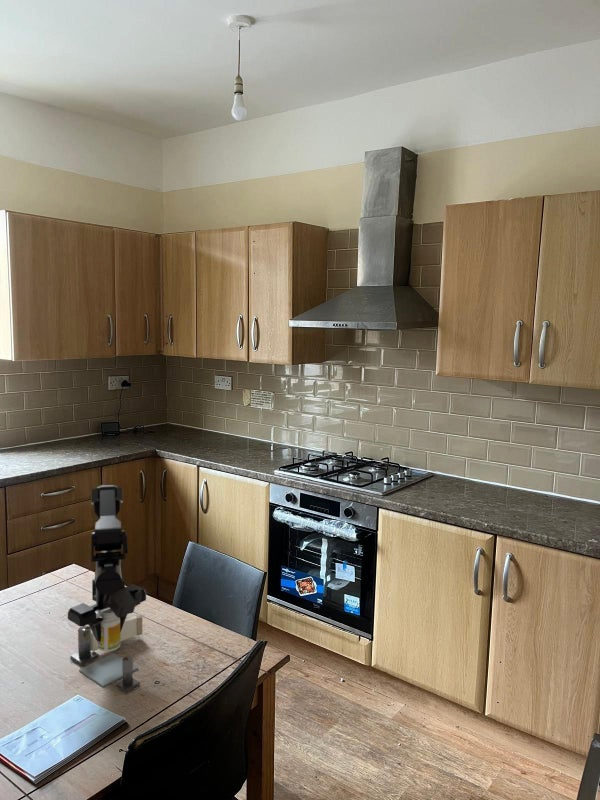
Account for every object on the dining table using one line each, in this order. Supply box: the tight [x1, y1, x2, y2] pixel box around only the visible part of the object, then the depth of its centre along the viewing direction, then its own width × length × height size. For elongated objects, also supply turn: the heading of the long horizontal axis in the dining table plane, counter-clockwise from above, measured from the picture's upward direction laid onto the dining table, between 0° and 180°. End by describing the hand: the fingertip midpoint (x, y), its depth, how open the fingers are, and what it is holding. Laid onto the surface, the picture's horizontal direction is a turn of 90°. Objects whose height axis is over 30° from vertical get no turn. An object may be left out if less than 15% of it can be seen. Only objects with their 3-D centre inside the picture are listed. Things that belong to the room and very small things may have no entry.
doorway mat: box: [79, 653, 139, 688], centre depth 149 cm, size 10×10×1 cm
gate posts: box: [69, 625, 141, 694], centre depth 148 cm, size 22×5×8 cm, turn 52°
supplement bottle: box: [98, 608, 121, 653], centre depth 148 cm, size 5×5×10 cm
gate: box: [91, 613, 143, 652], centre depth 160 cm, size 14×2×5 cm, turn 134°
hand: (108, 636), depth 148 cm, fingers closed on supplement bottle, 5 cm apart
